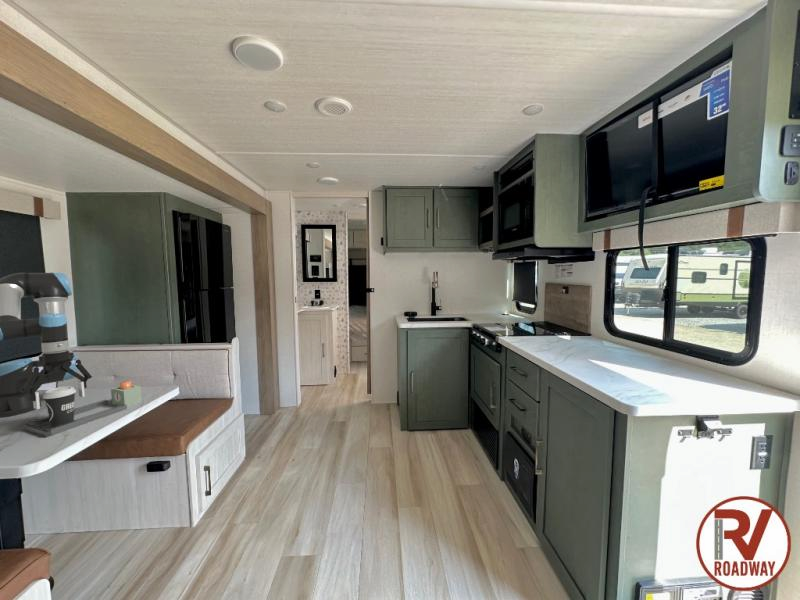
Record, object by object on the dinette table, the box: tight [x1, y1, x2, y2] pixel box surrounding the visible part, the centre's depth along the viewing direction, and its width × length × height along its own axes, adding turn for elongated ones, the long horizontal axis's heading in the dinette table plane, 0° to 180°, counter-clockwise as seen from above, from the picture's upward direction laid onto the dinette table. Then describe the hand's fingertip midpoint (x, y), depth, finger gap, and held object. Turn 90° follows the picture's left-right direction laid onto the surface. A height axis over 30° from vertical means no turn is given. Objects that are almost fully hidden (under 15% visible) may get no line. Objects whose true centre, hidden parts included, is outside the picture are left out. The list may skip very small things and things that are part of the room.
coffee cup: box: [42, 385, 77, 428], centre depth 131 cm, size 10×10×15 cm
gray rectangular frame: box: [23, 399, 128, 438], centre depth 136 cm, size 17×26×2 cm, turn 159°
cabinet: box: [110, 384, 143, 407], centre depth 152 cm, size 10×8×8 cm
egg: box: [119, 380, 132, 390], centre depth 152 cm, size 4×4×6 cm
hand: (60, 402), depth 130 cm, fingers open, 13 cm apart
